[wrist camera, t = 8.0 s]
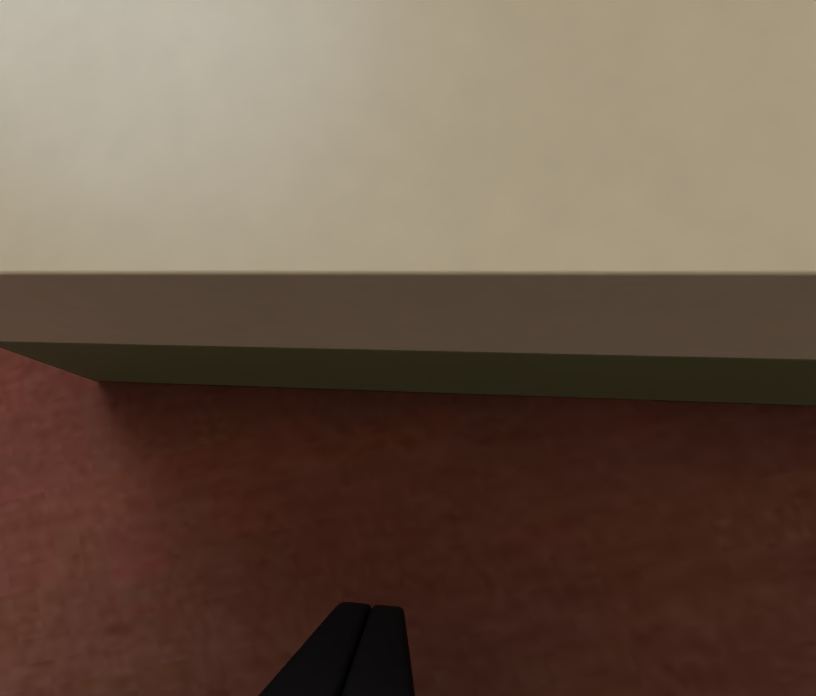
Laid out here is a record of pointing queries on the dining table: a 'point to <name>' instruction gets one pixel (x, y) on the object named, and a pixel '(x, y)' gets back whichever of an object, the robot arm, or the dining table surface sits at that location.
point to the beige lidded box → (414, 195)
